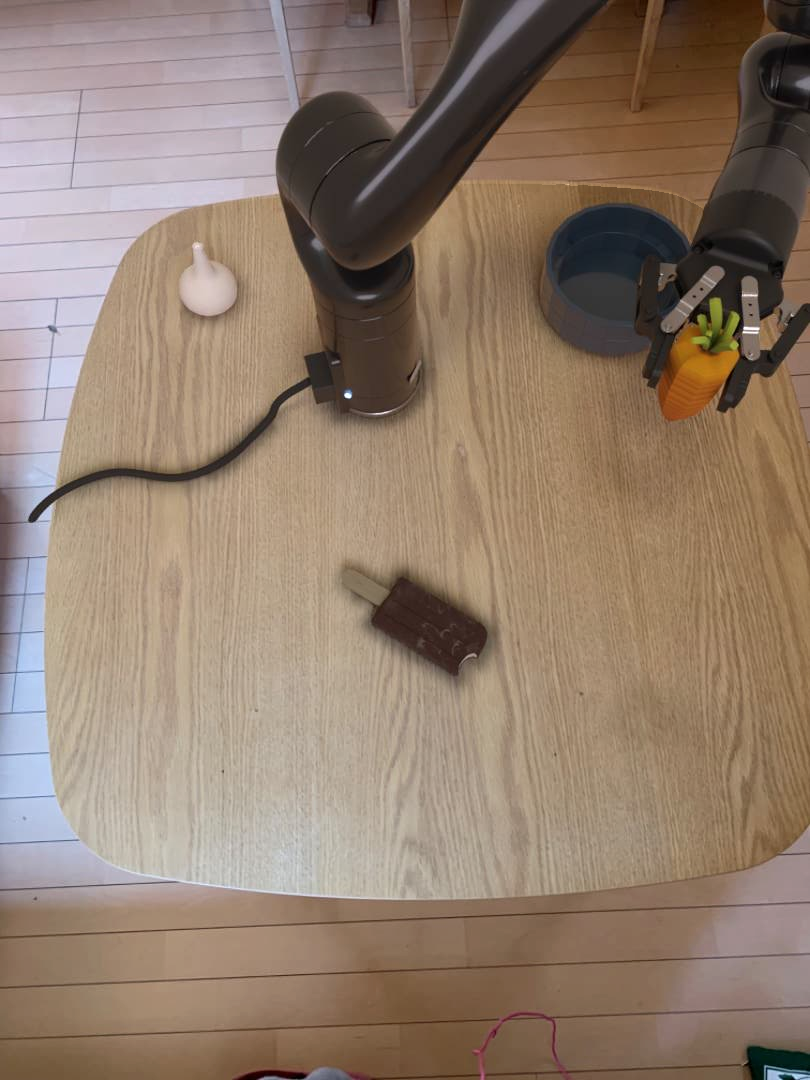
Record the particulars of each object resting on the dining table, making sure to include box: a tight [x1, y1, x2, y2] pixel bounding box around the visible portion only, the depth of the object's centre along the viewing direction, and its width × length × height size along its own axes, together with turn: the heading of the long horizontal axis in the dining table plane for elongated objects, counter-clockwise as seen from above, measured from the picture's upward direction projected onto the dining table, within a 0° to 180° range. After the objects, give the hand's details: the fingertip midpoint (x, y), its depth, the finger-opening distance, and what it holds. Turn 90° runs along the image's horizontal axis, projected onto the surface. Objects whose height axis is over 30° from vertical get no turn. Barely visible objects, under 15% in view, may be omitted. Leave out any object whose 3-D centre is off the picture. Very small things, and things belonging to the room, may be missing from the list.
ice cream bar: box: [341, 569, 488, 677], centre depth 80 cm, size 5×2×15 cm
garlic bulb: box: [178, 241, 238, 317], centre depth 90 cm, size 6×6×8 cm
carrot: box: [657, 298, 740, 423], centre depth 65 cm, size 5×5×15 cm
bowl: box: [539, 202, 691, 356], centre depth 90 cm, size 15×15×6 cm
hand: (688, 394), depth 64 cm, fingers closed on carrot, 5 cm apart
